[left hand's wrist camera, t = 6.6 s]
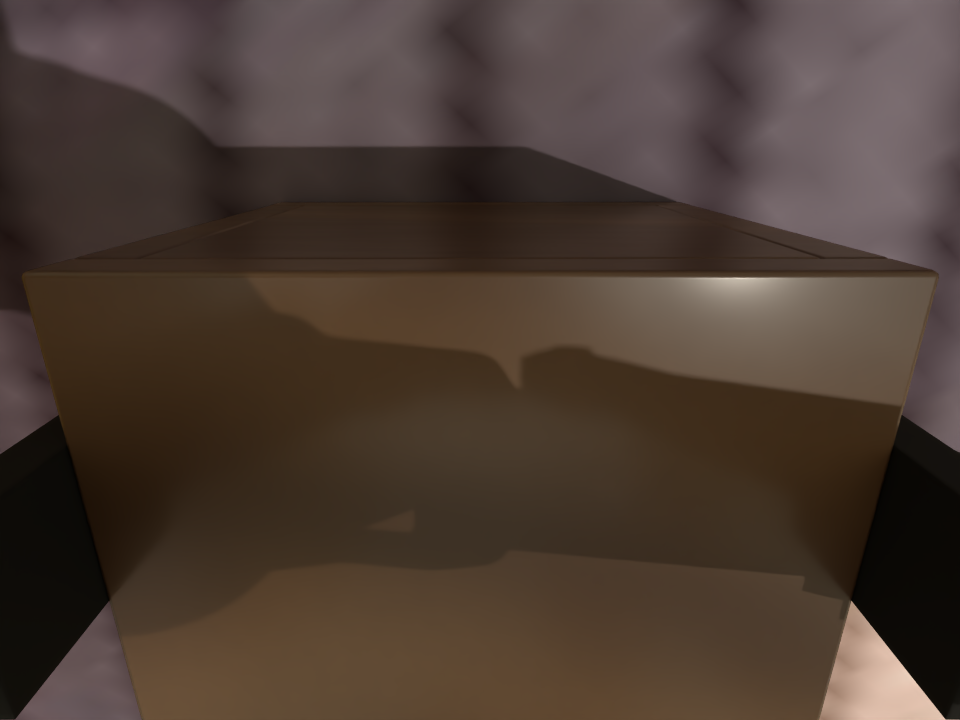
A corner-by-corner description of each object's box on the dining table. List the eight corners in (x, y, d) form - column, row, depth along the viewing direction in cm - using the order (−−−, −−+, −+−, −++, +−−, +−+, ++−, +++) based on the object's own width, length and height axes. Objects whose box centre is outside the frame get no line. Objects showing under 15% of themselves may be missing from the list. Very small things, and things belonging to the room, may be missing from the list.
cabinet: (621, 727, 24) (715, 1111, 14) (339, 727, 24) (246, 1111, 14) (680, 201, 17) (944, 271, 7) (279, 202, 17) (16, 272, 7)
